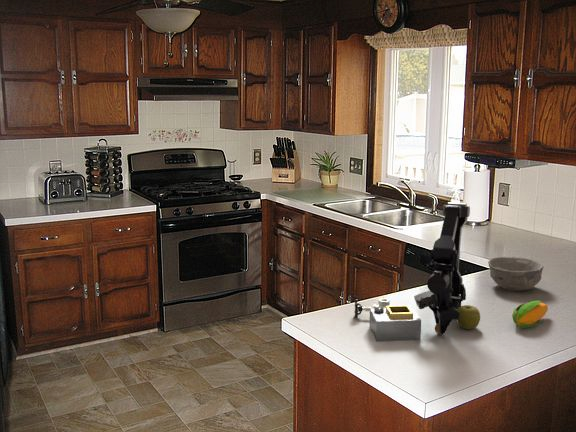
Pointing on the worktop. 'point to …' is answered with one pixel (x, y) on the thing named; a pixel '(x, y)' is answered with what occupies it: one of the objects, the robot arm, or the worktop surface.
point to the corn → (529, 313)
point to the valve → (381, 303)
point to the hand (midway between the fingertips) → (440, 331)
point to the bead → (438, 329)
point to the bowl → (515, 272)
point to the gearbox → (395, 323)
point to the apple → (468, 317)
